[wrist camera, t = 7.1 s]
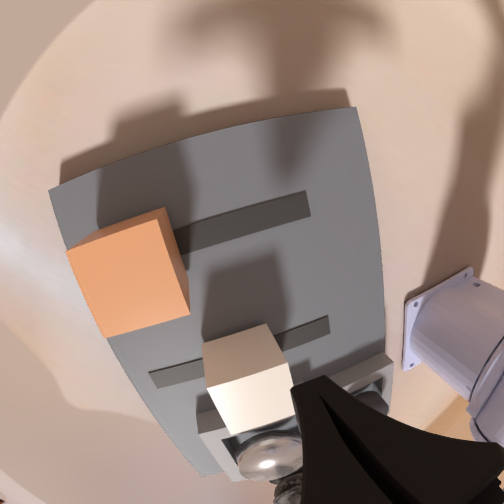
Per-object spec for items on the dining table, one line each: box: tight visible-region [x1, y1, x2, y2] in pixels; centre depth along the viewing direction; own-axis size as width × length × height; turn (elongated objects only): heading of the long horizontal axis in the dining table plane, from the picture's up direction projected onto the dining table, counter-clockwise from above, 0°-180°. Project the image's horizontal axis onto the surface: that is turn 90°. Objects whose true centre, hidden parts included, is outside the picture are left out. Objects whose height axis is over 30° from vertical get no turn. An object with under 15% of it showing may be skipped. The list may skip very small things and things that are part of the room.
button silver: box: [236, 430, 303, 481], centre depth 17 cm, size 5×5×2 cm
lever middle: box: [201, 324, 295, 435], centre depth 15 cm, size 4×4×4 cm
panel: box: [48, 107, 394, 482], centre depth 18 cm, size 18×26×4 cm
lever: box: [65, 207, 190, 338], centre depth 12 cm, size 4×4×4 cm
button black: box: [354, 391, 389, 415], centre depth 19 cm, size 4×4×1 cm
